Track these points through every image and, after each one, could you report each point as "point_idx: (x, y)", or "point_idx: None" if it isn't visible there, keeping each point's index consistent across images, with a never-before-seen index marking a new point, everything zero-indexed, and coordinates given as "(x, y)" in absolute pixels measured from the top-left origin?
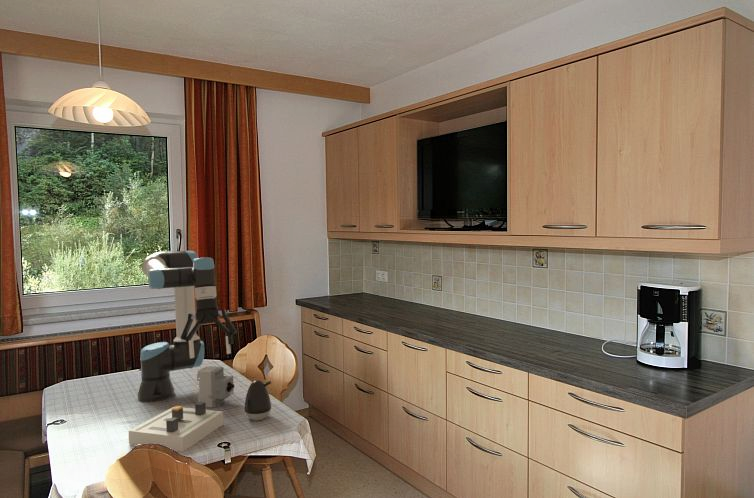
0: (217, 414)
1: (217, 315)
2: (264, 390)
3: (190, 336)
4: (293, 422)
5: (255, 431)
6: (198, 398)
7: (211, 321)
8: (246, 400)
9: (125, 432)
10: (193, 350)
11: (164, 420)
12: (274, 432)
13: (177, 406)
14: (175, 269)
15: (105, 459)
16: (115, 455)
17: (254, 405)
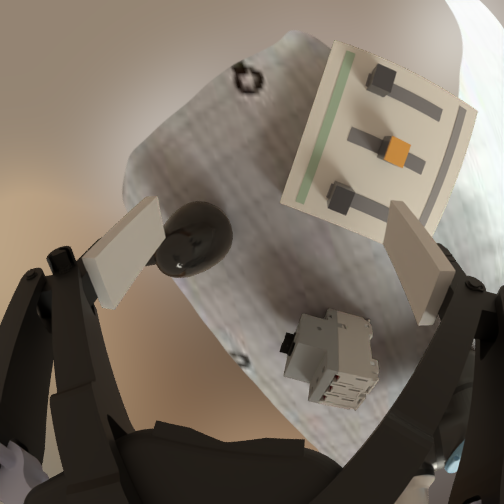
0: (288, 182)
1: (49, 481)
2: None
3: (454, 300)
4: (134, 196)
5: (196, 148)
6: (370, 330)
7: (143, 440)
8: (212, 226)
9: (488, 186)
10: (397, 261)
11: (422, 159)
12: (157, 143)
13: (399, 159)
14: None
15: (471, 55)
16: (463, 67)
17: (191, 208)
